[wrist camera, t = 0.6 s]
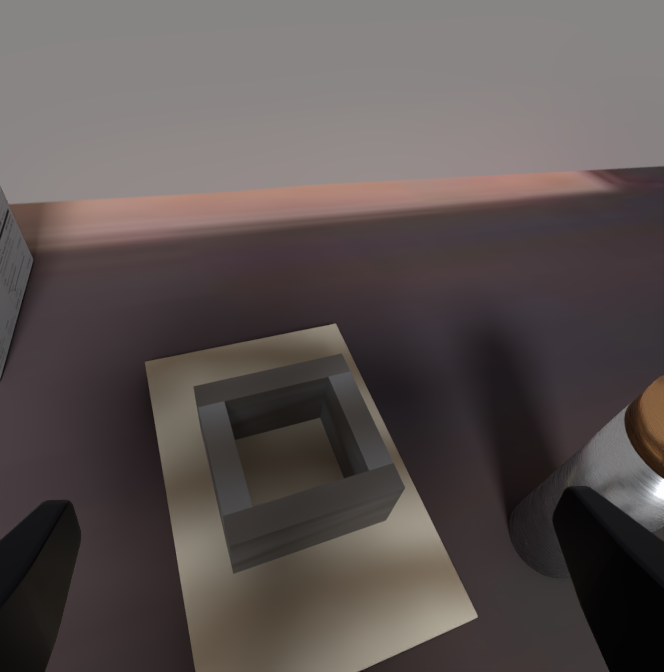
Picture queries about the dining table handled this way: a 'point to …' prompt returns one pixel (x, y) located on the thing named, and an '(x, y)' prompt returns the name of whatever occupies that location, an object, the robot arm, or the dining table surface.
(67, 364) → the dining table surface
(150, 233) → the dining table surface
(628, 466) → the pin
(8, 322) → the light bulb box
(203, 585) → the block
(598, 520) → the robot arm
